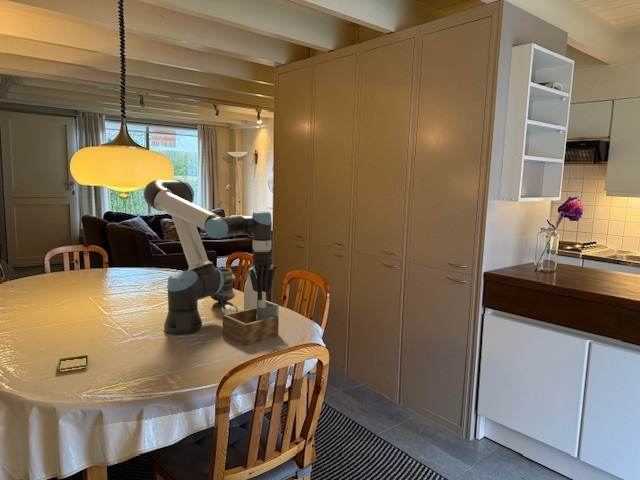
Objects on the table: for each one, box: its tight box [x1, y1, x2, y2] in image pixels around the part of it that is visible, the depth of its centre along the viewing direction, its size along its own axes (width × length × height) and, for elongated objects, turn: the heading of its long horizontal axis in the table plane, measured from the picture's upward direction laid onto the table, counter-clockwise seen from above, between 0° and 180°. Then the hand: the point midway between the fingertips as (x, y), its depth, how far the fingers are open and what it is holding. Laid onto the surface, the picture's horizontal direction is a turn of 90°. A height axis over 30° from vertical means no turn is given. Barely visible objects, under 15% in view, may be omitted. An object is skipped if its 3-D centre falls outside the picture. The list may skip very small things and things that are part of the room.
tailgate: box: [257, 299, 279, 321], centre depth 182 cm, size 2×13×10 cm, turn 44°
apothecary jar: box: [209, 267, 236, 309], centre depth 215 cm, size 12×12×18 cm
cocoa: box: [219, 295, 238, 315], centre depth 195 cm, size 10×6×12 cm, turn 114°
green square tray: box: [57, 354, 89, 371], centre depth 145 cm, size 9×9×2 cm
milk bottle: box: [243, 270, 257, 310], centre depth 207 cm, size 8×8×20 cm
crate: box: [221, 308, 280, 346], centre depth 177 cm, size 16×16×8 cm
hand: (262, 307), depth 180 cm, fingers closed
